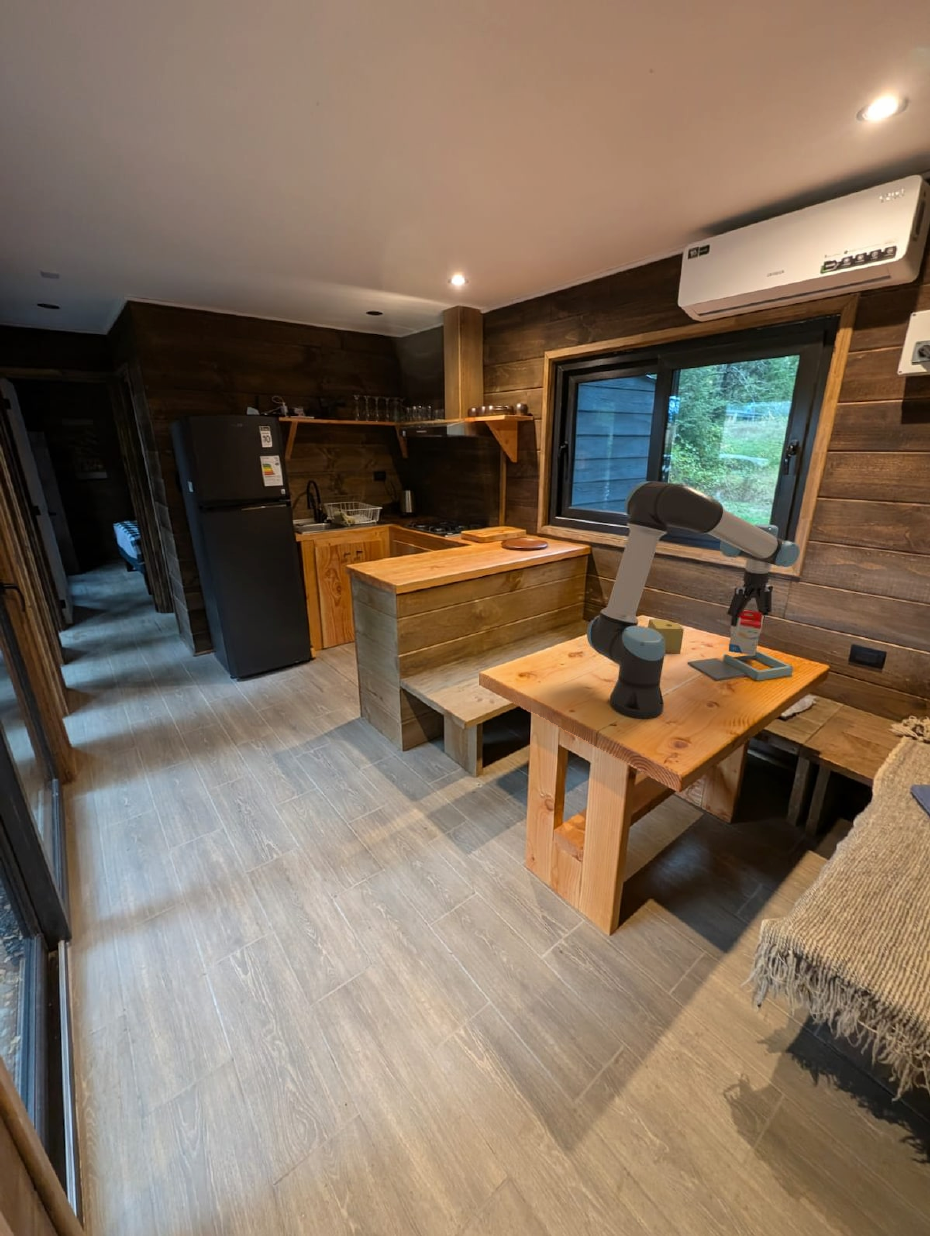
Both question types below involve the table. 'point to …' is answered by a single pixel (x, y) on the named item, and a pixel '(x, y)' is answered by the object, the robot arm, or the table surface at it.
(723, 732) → the table surface
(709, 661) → the slate pad
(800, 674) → the table surface
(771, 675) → the open picture frame
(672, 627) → the cheese
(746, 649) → the ink box
